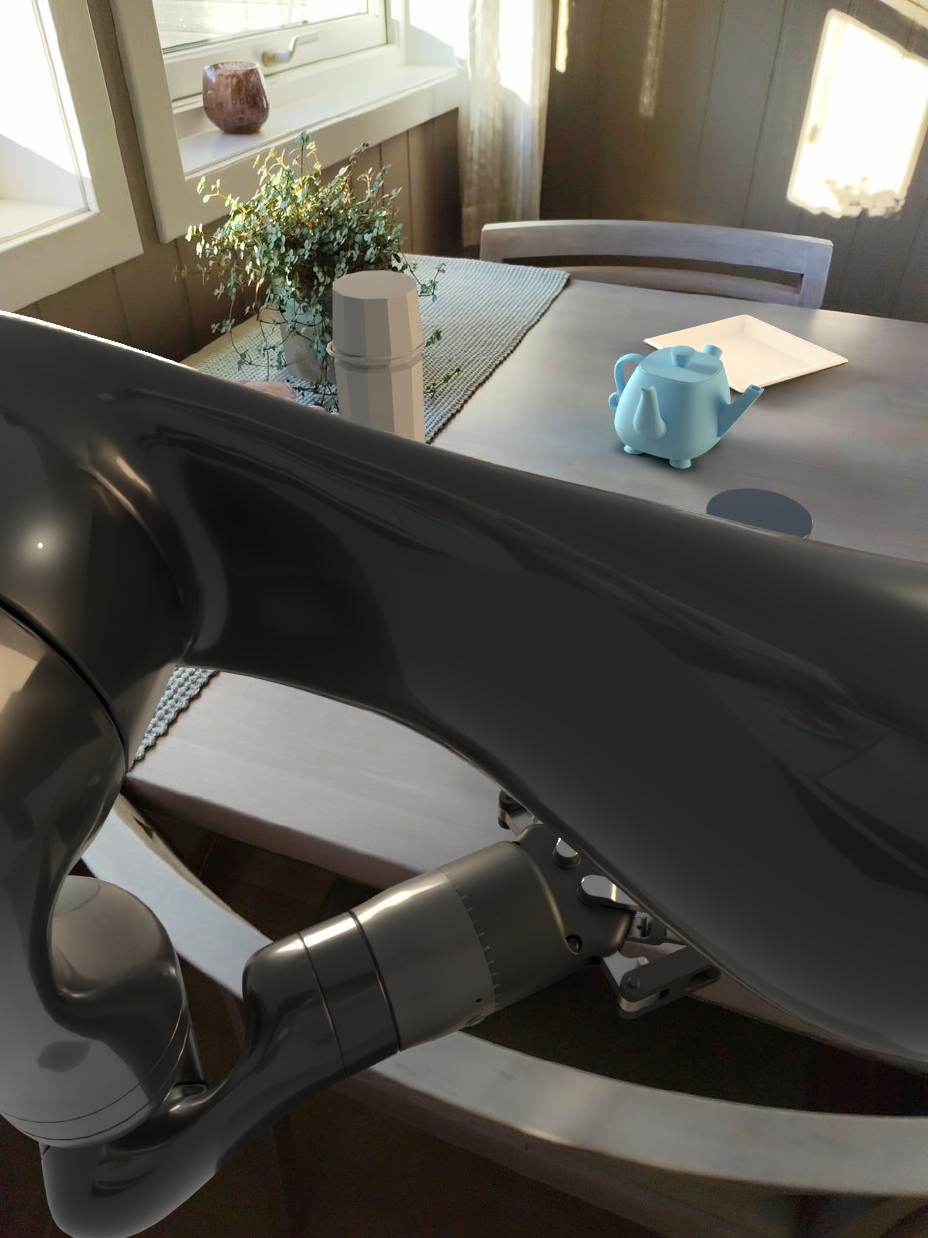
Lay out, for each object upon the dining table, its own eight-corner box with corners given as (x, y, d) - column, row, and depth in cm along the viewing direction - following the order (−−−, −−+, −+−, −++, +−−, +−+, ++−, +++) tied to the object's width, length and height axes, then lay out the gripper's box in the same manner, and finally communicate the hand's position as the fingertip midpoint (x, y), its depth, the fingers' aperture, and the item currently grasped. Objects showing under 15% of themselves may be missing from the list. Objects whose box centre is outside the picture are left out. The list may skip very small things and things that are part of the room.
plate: (738, 407, 105) (742, 391, 103) (640, 353, 117) (642, 338, 116) (845, 374, 112) (850, 358, 111) (742, 326, 124) (745, 312, 123)
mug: (794, 574, 79) (816, 499, 74) (785, 631, 73) (809, 553, 68) (679, 550, 82) (693, 476, 77) (661, 603, 76) (675, 527, 70)
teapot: (753, 477, 92) (778, 376, 85) (628, 485, 91) (642, 383, 84) (706, 412, 104) (723, 318, 97) (594, 419, 102) (603, 324, 95)
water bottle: (444, 568, 80) (438, 293, 64) (361, 586, 77) (334, 307, 61) (413, 517, 86) (401, 257, 70) (336, 532, 84) (306, 268, 68)
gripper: (527, 1035, 37) (818, 887, 42) (397, 795, 47) (647, 700, 52) (520, 1107, 41) (782, 966, 47) (404, 876, 51) (632, 781, 57)
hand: (711, 826), depth 49 cm, fingers open, 8 cm apart
